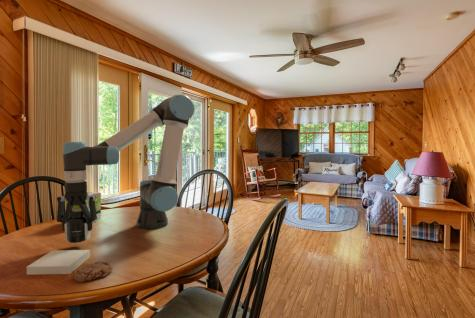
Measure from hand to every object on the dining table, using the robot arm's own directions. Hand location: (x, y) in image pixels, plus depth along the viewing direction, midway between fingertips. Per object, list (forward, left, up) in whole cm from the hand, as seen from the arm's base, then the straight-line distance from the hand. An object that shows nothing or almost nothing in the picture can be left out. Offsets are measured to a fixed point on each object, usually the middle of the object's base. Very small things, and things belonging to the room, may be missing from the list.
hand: (78, 238), depth 107 cm
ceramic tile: (-3, +16, -3) cm, 17 cm away
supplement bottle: (0, 0, -1) cm, 1 cm away
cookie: (-17, +23, -4) cm, 29 cm away
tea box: (+14, -34, -4) cm, 37 cm away
